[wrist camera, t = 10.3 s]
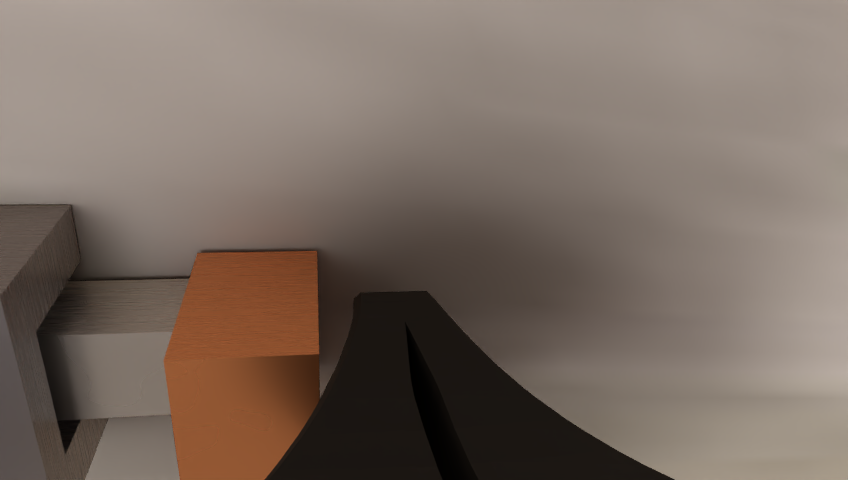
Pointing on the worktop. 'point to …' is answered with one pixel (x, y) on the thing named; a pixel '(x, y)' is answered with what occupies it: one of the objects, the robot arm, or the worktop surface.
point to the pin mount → (36, 347)
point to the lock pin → (195, 357)
